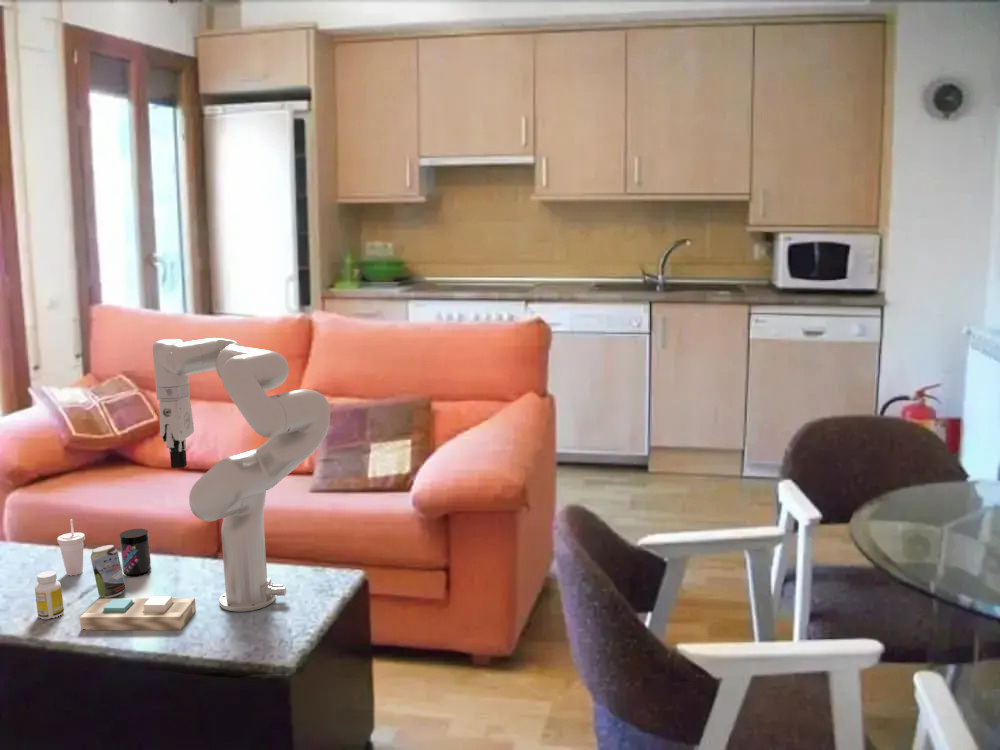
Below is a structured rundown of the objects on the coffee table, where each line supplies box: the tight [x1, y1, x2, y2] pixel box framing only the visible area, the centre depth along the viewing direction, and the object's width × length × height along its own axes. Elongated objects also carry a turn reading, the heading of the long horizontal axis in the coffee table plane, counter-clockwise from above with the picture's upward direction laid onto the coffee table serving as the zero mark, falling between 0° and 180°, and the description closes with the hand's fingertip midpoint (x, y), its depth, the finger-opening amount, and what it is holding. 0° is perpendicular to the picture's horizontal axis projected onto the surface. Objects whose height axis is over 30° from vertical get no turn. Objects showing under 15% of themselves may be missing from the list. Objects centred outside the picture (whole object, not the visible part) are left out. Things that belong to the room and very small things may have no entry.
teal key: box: [104, 598, 133, 613], centre depth 221 cm, size 5×5×3 cm
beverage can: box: [90, 544, 126, 599], centre depth 234 cm, size 6×7×12 cm
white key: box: [144, 595, 173, 613], centre depth 220 cm, size 5×5×3 cm
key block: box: [79, 597, 197, 631], centre depth 221 cm, size 22×10×3 cm, turn 88°
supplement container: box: [119, 528, 152, 578], centre depth 248 cm, size 7×7×10 cm
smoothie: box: [56, 518, 86, 577], centre depth 248 cm, size 6×6×14 cm
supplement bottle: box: [34, 570, 65, 620], centre depth 224 cm, size 5×5×10 cm
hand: (179, 466), depth 237 cm, fingers closed
